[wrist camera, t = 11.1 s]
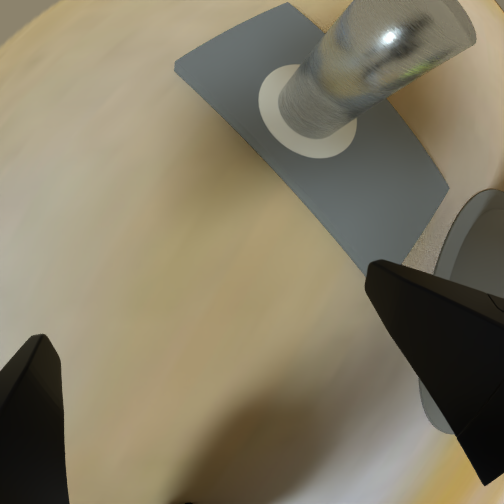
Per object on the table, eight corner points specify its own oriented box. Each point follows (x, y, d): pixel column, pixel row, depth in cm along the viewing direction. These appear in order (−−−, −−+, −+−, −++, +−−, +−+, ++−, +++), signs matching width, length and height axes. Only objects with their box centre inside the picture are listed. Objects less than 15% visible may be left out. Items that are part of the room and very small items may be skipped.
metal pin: (350, 126, 19) (488, 44, 7) (301, 149, 18) (447, 48, 6) (317, 73, 18) (426, -35, 7) (265, 91, 18) (366, -47, 6)
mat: (439, 190, 23) (450, 187, 22) (373, 286, 21) (384, 288, 20) (282, 10, 19) (288, 1, 18) (174, 71, 17) (174, 60, 16)
